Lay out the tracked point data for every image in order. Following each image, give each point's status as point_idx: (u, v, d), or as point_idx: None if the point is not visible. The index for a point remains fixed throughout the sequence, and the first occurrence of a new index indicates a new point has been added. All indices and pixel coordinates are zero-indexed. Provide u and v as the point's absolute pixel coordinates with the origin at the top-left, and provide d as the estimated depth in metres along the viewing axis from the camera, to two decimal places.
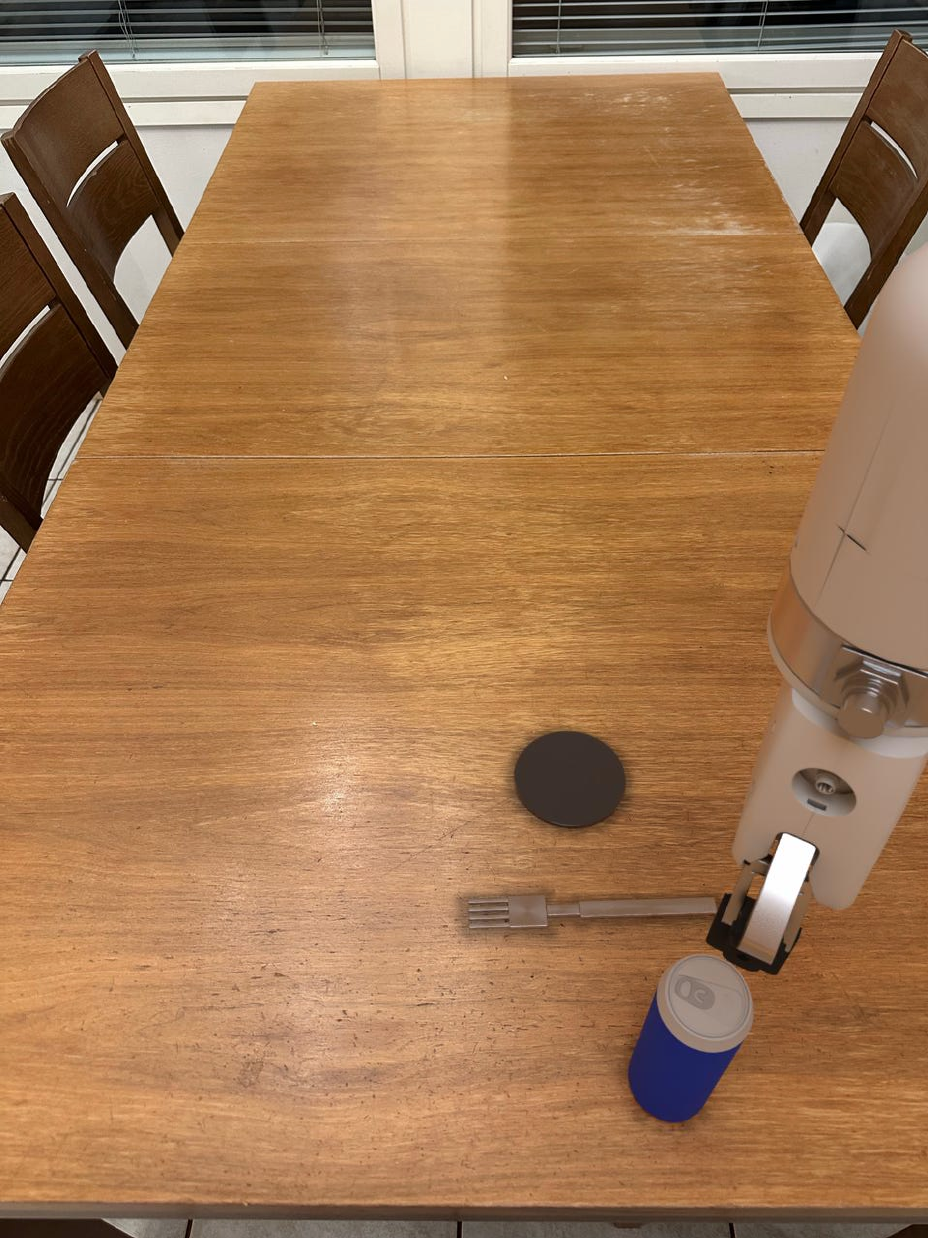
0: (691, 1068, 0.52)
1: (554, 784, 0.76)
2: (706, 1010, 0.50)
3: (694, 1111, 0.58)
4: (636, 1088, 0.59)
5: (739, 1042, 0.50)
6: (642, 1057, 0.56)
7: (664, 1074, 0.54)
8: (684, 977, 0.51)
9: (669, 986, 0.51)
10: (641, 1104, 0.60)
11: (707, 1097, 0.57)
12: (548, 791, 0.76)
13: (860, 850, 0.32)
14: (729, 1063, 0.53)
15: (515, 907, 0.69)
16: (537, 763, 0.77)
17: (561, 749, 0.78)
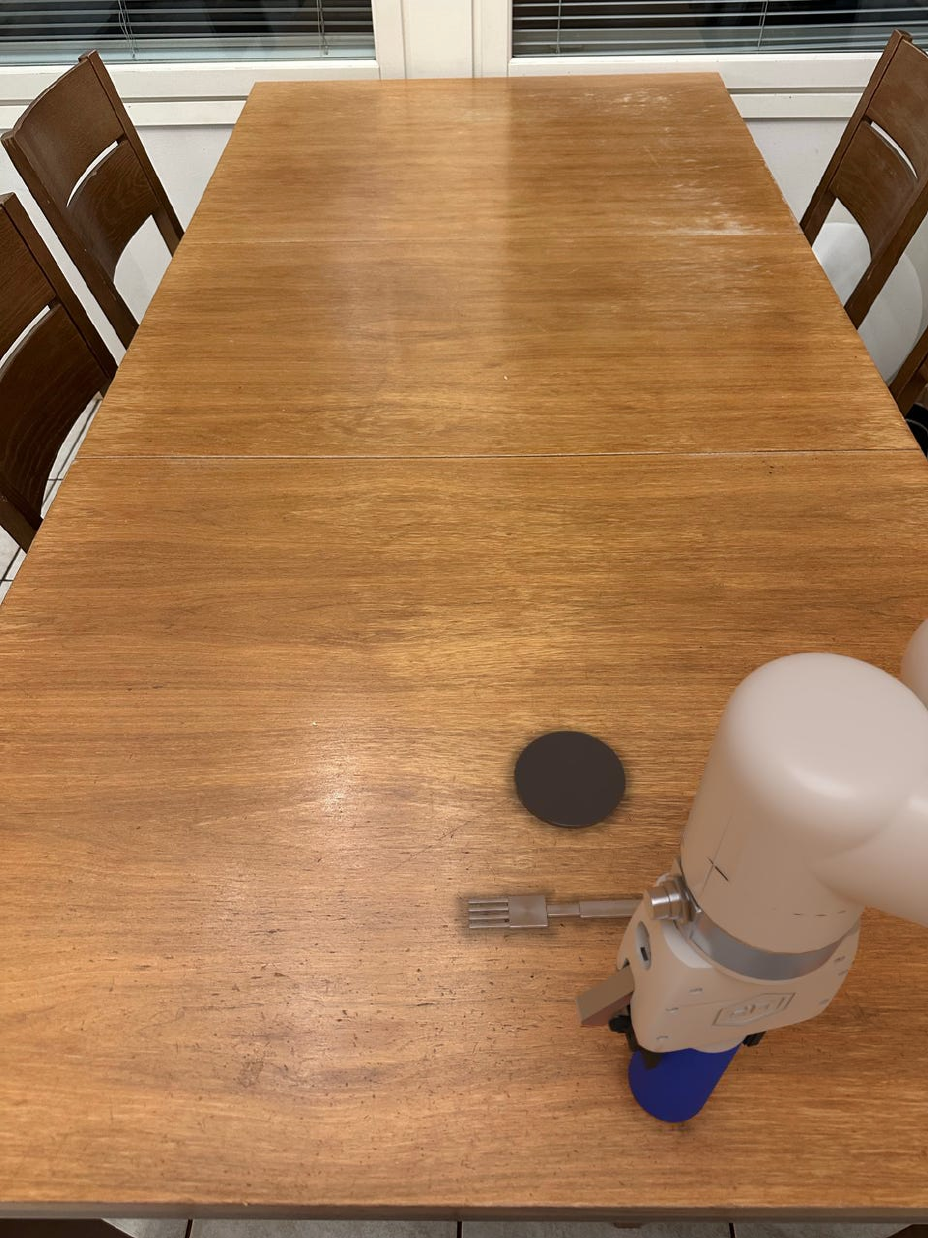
0: (691, 1068, 0.52)
1: (554, 784, 0.76)
2: None
3: (694, 1111, 0.58)
4: (636, 1088, 0.59)
5: (739, 1042, 0.49)
6: None
7: (663, 1074, 0.54)
8: None
9: None
10: (641, 1104, 0.60)
11: (707, 1097, 0.57)
12: (548, 791, 0.76)
13: (648, 1004, 0.43)
14: (729, 1063, 0.53)
15: (515, 907, 0.69)
16: (537, 763, 0.77)
17: (561, 749, 0.78)
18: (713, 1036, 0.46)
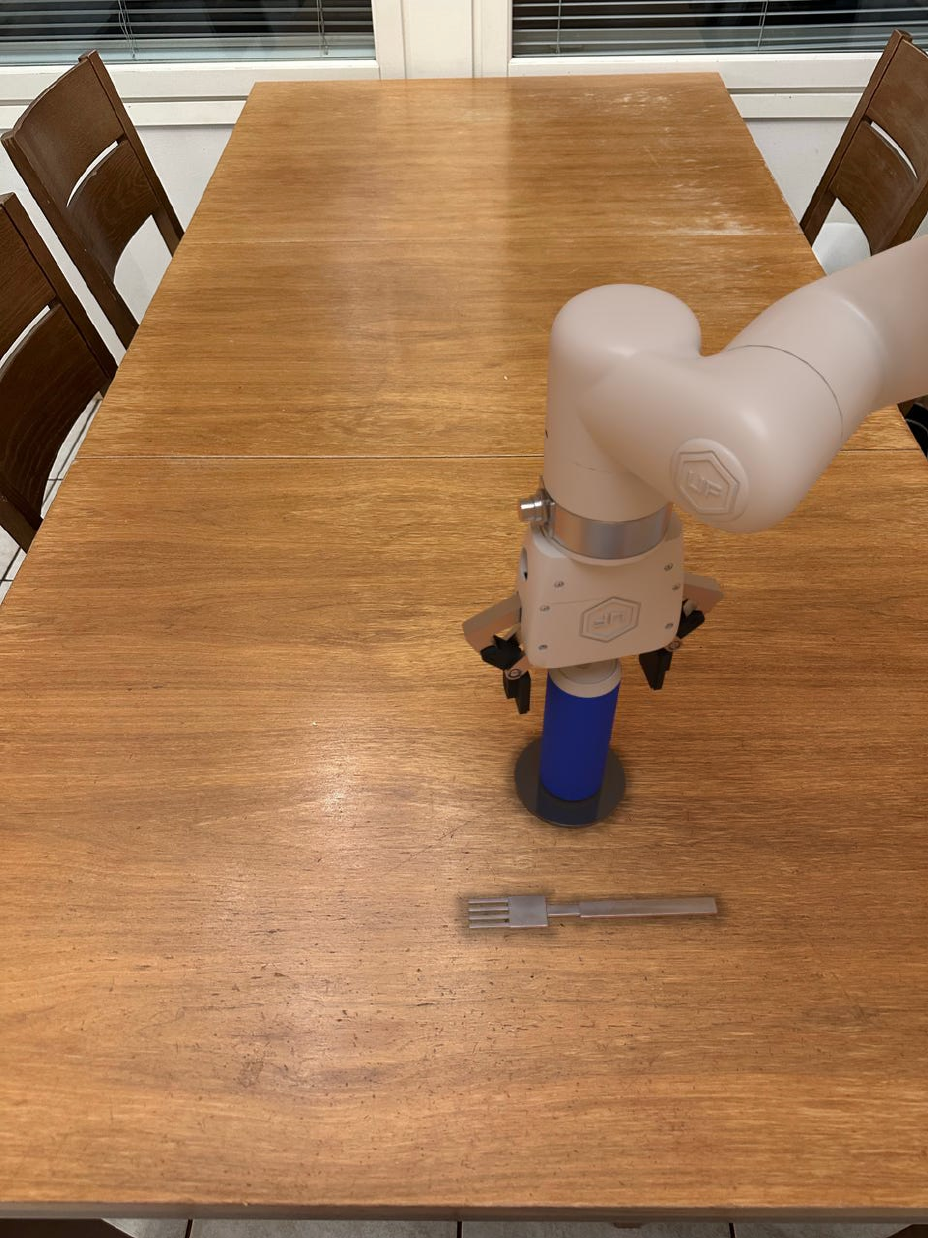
0: (575, 721, 0.67)
1: None
2: (584, 669, 0.65)
3: (588, 787, 0.73)
4: (543, 773, 0.74)
5: (608, 691, 0.65)
6: (544, 735, 0.71)
7: (558, 738, 0.69)
8: None
9: None
10: (548, 787, 0.75)
11: (597, 770, 0.72)
12: (548, 791, 0.76)
13: (529, 611, 0.57)
14: (607, 724, 0.68)
15: (515, 907, 0.69)
16: (537, 763, 0.77)
17: None
18: (584, 652, 0.60)
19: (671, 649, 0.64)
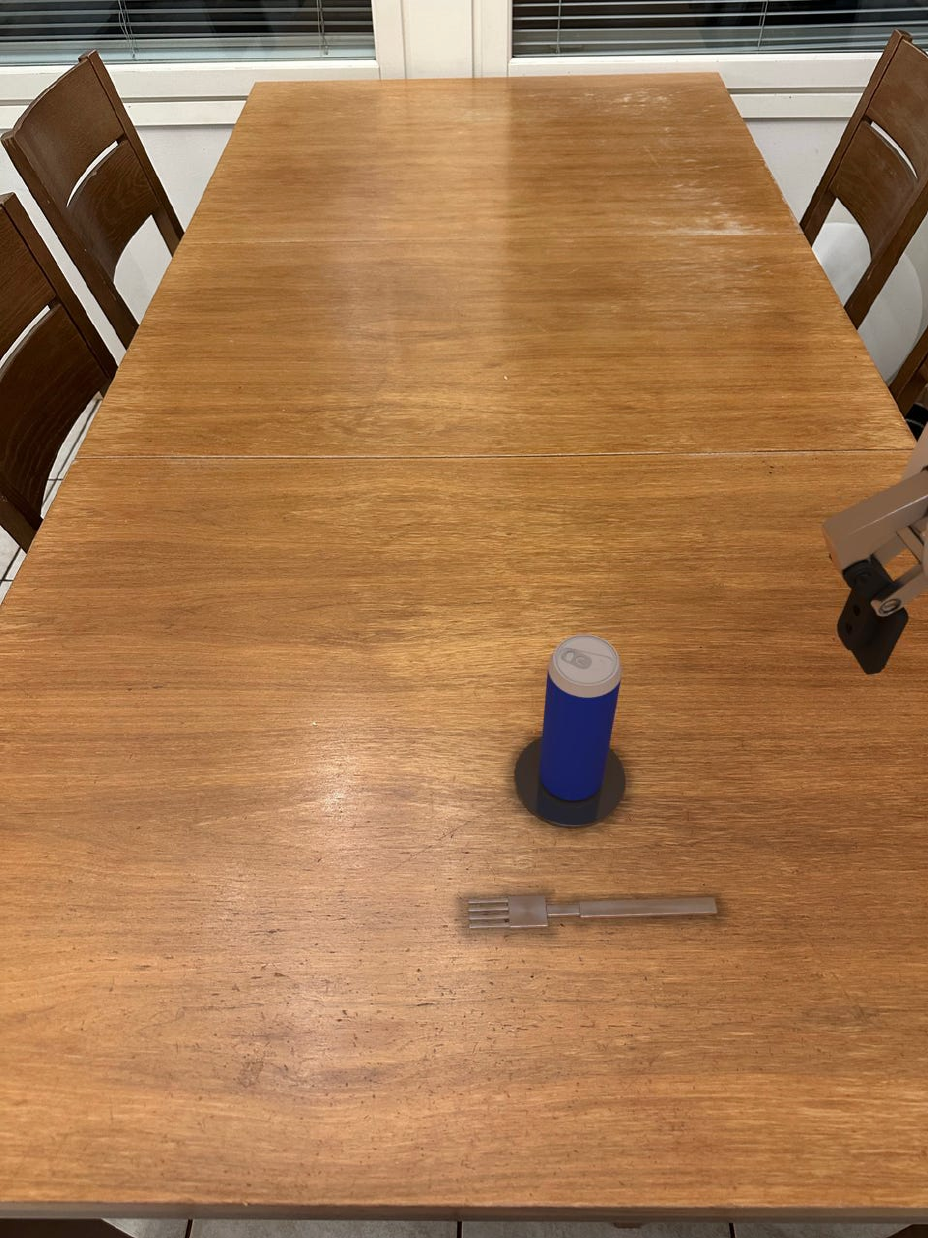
0: (575, 721, 0.67)
1: None
2: (584, 669, 0.65)
3: (588, 787, 0.73)
4: (543, 773, 0.74)
5: (608, 691, 0.65)
6: (544, 735, 0.71)
7: (558, 738, 0.69)
8: (569, 649, 0.66)
9: (557, 654, 0.66)
10: (548, 787, 0.75)
11: (597, 770, 0.72)
12: (548, 791, 0.76)
13: None
14: (607, 724, 0.68)
15: (515, 907, 0.69)
16: (537, 763, 0.77)
17: None
18: None
19: None
